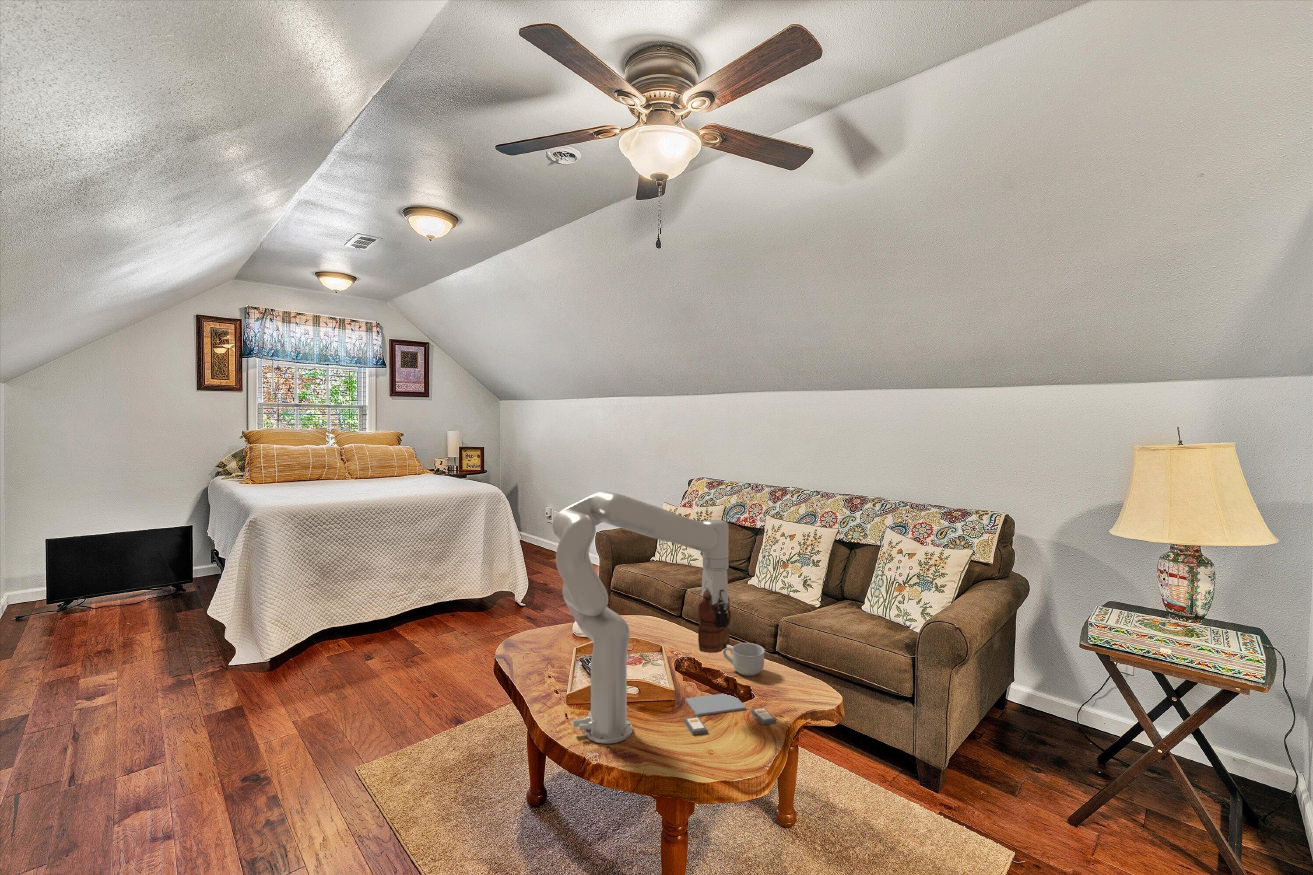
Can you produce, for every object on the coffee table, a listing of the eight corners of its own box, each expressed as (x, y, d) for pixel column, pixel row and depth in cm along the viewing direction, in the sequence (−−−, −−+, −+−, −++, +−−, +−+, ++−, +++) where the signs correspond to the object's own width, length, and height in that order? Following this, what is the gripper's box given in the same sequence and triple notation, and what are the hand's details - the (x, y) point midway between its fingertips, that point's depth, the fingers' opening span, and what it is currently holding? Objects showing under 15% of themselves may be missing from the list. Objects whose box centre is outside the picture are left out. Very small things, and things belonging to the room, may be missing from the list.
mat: (696, 715, 162) (696, 713, 162) (685, 700, 172) (685, 698, 172) (746, 709, 166) (746, 707, 166) (732, 694, 176) (732, 692, 176)
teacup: (769, 670, 194) (769, 646, 194) (756, 681, 185) (757, 656, 185) (731, 661, 202) (731, 638, 202) (717, 672, 193) (717, 648, 193)
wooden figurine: (714, 656, 162) (716, 592, 162) (694, 650, 166) (696, 588, 166) (733, 644, 172) (735, 583, 172) (715, 639, 176) (716, 580, 175)
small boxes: (692, 734, 152) (692, 730, 152) (684, 722, 159) (684, 717, 159) (775, 722, 159) (775, 718, 159) (764, 711, 165) (764, 706, 165)
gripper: (693, 557, 177) (693, 614, 177) (714, 570, 160) (714, 632, 160) (716, 556, 179) (716, 612, 179) (739, 568, 162) (739, 630, 162)
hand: (715, 621), depth 169 cm, fingers closed on wooden figurine, 8 cm apart
